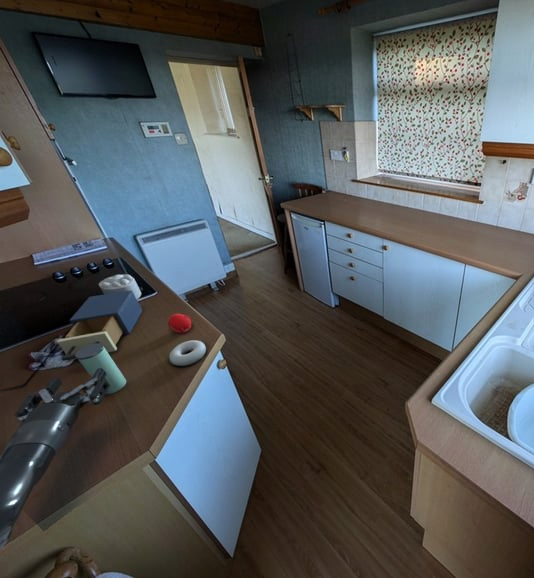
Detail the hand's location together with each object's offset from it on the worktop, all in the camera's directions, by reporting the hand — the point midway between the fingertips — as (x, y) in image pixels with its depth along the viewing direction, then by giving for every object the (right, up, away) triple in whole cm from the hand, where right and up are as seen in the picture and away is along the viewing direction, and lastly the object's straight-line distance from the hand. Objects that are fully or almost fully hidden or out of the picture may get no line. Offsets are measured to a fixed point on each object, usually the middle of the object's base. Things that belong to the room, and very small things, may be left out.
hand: (80, 374), depth 72 cm
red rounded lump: (+2, +7, +34) cm, 34 cm away
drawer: (-19, +2, +24) cm, 31 cm away
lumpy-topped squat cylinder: (-34, +18, +51) cm, 64 cm away
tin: (-3, -7, +12) cm, 14 cm away
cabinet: (-24, +8, +35) cm, 43 cm away
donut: (+12, -1, +22) cm, 25 cm away
